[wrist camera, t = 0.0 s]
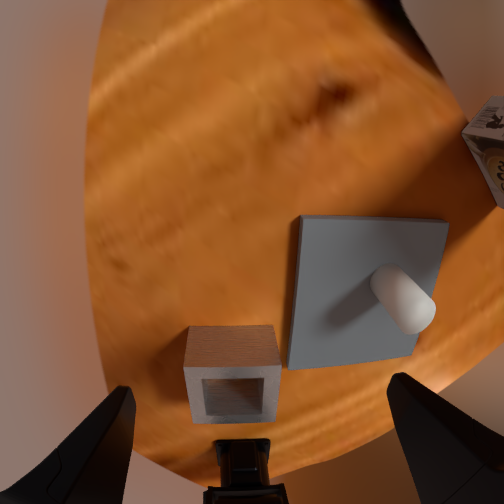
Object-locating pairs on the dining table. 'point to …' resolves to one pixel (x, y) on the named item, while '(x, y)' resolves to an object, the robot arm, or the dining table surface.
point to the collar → (232, 374)
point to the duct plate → (362, 288)
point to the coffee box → (489, 144)
